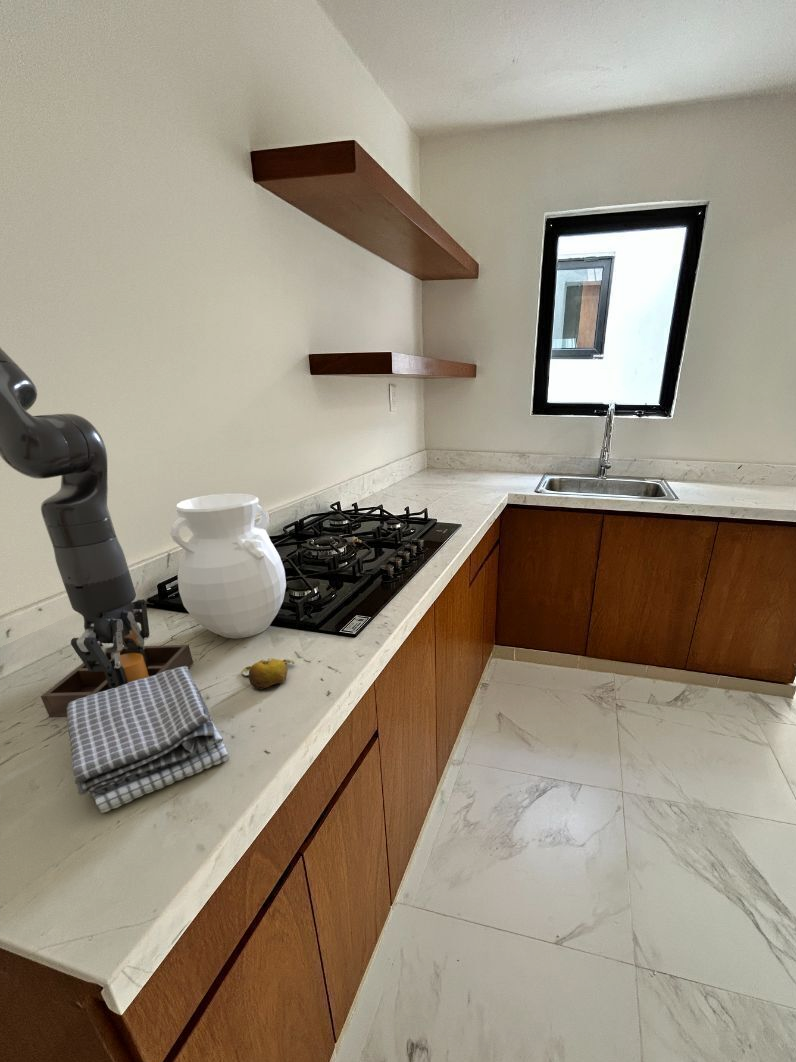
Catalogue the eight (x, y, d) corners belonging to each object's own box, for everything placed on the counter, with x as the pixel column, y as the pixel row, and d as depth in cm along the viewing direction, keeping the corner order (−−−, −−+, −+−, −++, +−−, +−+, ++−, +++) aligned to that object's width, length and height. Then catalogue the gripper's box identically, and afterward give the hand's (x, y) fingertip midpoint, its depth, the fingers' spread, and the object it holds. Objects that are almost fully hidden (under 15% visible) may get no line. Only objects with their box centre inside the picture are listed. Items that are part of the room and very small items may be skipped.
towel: (198, 698, 76) (186, 653, 72) (232, 765, 62) (219, 713, 59) (78, 739, 67) (58, 690, 64) (87, 826, 54) (63, 770, 51)
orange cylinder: (107, 692, 72) (99, 669, 71) (125, 675, 77) (118, 653, 75) (139, 691, 72) (131, 668, 71) (155, 674, 77) (149, 652, 75)
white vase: (265, 600, 110) (244, 486, 100) (310, 625, 98) (291, 498, 88) (176, 629, 98) (141, 502, 88) (215, 661, 86) (180, 519, 76)
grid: (49, 717, 72) (40, 696, 71) (109, 665, 85) (102, 646, 84) (149, 714, 72) (142, 693, 71) (193, 662, 85) (188, 644, 84)
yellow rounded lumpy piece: (293, 660, 85) (290, 641, 84) (298, 685, 78) (295, 665, 77) (241, 670, 83) (237, 651, 81) (242, 697, 76) (237, 676, 74)
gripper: (100, 555, 74) (132, 656, 81) (27, 593, 61) (73, 709, 68) (151, 554, 74) (178, 654, 81) (89, 591, 61) (128, 707, 68)
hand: (130, 678), depth 74 cm, fingers closed on orange cylinder, 4 cm apart
